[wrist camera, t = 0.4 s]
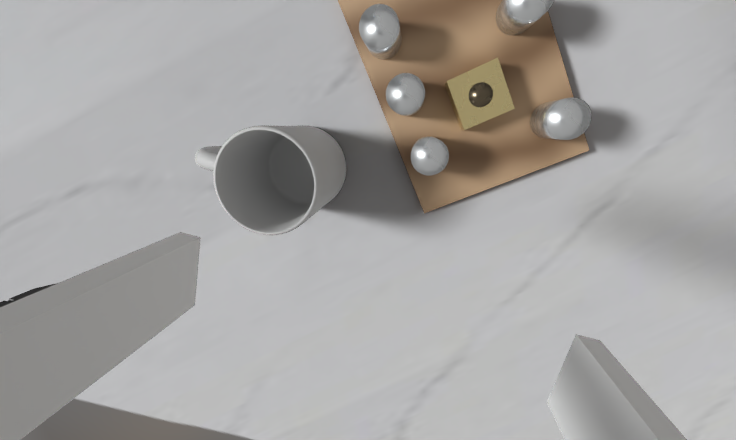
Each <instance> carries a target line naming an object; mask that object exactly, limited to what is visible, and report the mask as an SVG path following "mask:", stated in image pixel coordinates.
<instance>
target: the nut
mask: <svg viewBox="0 0 736 440" xmlns="http://www.w3.org/2000/svg"><path fill="white" fill-rule="evenodd" d="M444 85H445V88H446V91H447V93H448V96H449V99H450V102H451V104H452V107H453V110H454V112H455V115H456V118H457V121H458V123H459V126H460V129H461V130H466V129H468V128H471V127H473V126H475V125H478V124H480V123H482V122H485V121H487V120H489V119H492V118H494V117H496V116H499V115H501V114H503V113H506V112H508V111H510V110H513V109H515V108H514V105H513V102H512V99H511V96H510V93H509V90H508V87H507V84H506V81H505V78H504V75H503V72H502V69H501V66H500V63H499V60H498V58H496V59H493V60H491V61H489V62H487V63H485V64H483V65H480V66H478V67H476V68H474V69H472V70H470V71H468V72H465V73H463V74H461V75H459V76H457V77H455V78H452V79H450V80H448V81H446V83H445V84H444Z"/></svg>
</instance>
